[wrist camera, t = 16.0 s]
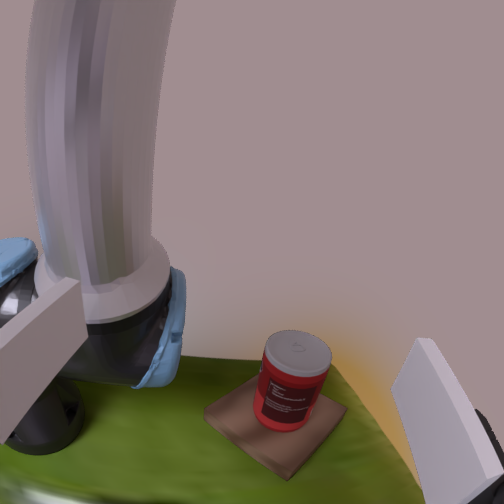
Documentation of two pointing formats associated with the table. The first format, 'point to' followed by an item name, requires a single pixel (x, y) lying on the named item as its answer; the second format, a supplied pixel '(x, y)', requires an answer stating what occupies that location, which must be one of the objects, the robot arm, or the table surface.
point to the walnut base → (265, 440)
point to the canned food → (290, 379)
